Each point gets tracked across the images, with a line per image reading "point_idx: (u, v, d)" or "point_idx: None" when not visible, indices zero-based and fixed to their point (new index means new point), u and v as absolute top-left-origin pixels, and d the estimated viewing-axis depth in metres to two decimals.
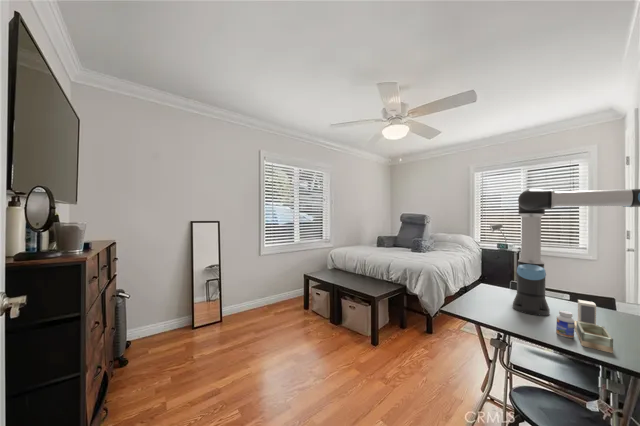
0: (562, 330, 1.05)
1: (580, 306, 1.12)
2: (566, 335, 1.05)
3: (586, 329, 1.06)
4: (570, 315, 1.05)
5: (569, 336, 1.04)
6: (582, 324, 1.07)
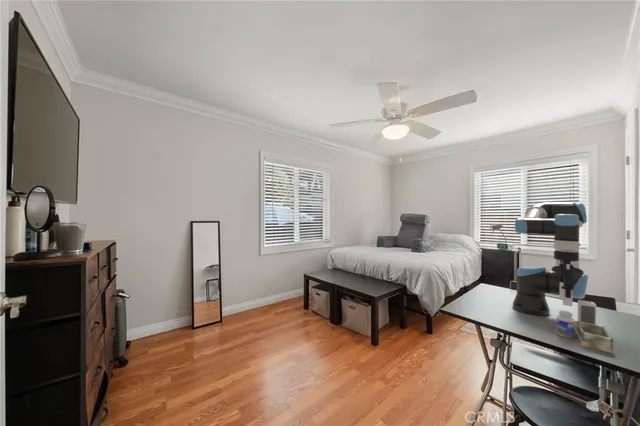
0: (562, 330, 1.05)
1: (580, 306, 1.12)
2: (566, 335, 1.05)
3: (586, 329, 1.06)
4: (570, 315, 1.05)
5: (569, 336, 1.04)
6: (582, 324, 1.07)
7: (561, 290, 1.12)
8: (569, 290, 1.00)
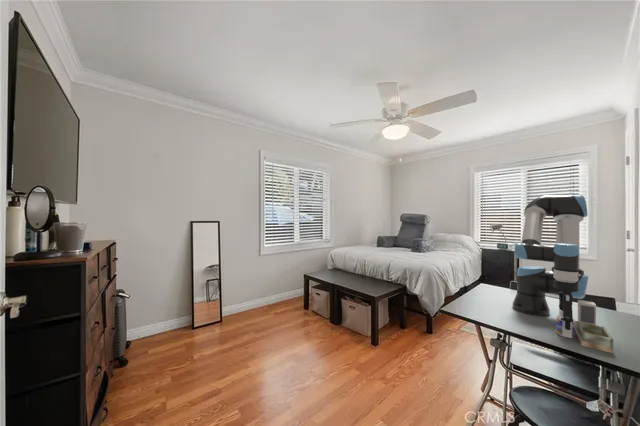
0: None
1: (580, 306, 1.12)
2: None
3: (586, 329, 1.06)
4: None
5: None
6: (582, 324, 1.07)
7: None
8: (569, 322, 1.00)
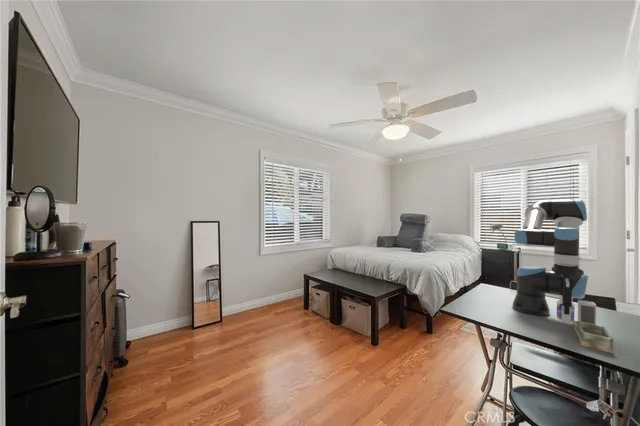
0: None
1: (580, 306, 1.12)
2: None
3: (586, 329, 1.06)
4: None
5: None
6: (582, 324, 1.07)
7: None
8: (568, 307, 1.03)
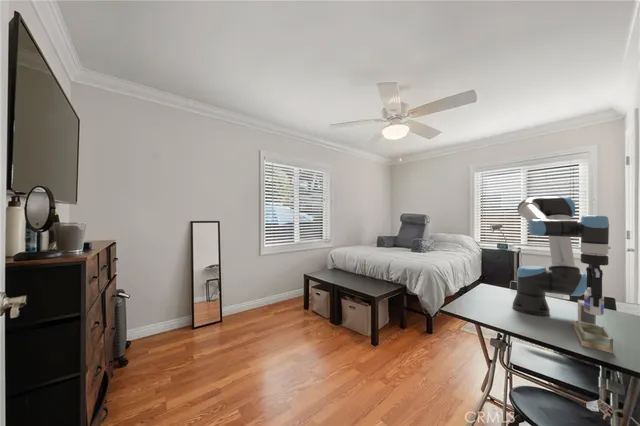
0: None
1: (580, 306, 1.12)
2: None
3: (586, 329, 1.06)
4: None
5: None
6: (582, 324, 1.07)
7: None
8: (597, 299, 0.97)
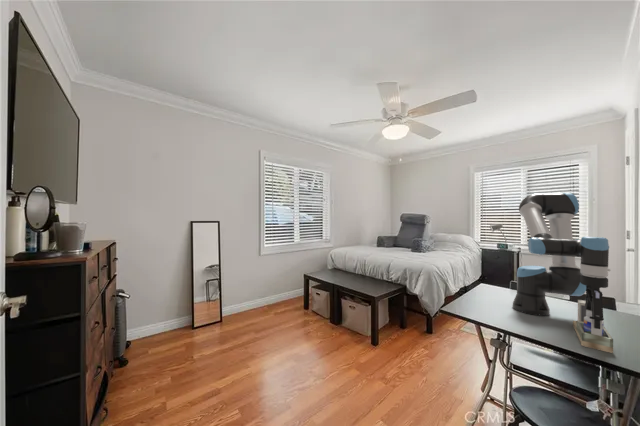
0: None
1: (580, 306, 1.12)
2: None
3: None
4: None
5: None
6: (582, 324, 1.07)
7: None
8: (598, 321, 0.95)
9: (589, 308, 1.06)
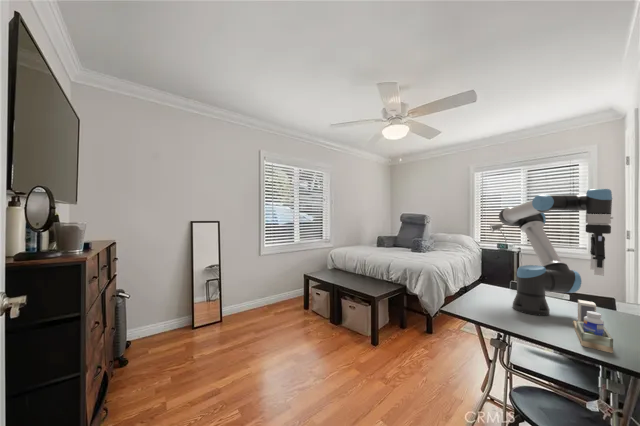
0: (591, 332, 1.00)
1: (580, 306, 1.12)
2: None
3: None
4: (599, 316, 0.99)
5: None
6: (582, 324, 1.07)
7: (592, 263, 1.17)
8: (601, 260, 1.05)
9: (594, 253, 1.17)
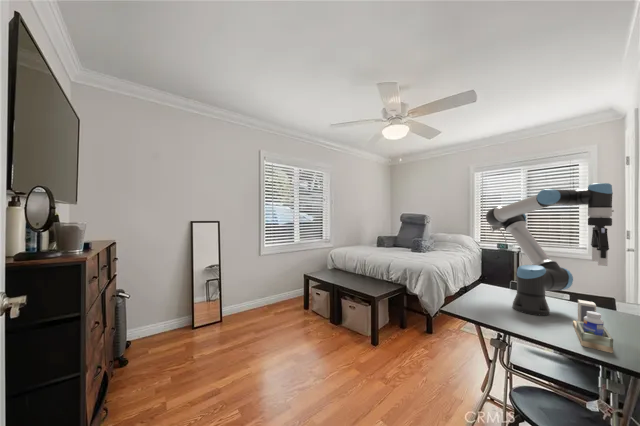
0: (591, 332, 1.00)
1: (580, 306, 1.12)
2: None
3: None
4: (599, 316, 0.99)
5: None
6: (582, 324, 1.07)
7: (593, 254, 1.22)
8: (604, 251, 1.10)
9: (595, 246, 1.22)
